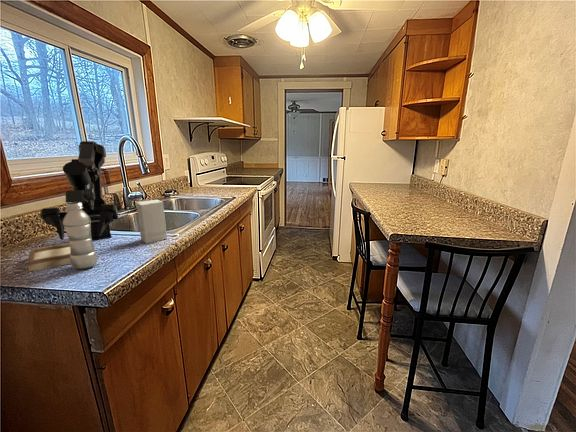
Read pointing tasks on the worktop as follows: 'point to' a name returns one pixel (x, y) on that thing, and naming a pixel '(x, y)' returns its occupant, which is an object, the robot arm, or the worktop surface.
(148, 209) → the skincare box
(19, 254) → the worktop surface
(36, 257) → the stand
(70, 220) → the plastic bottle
